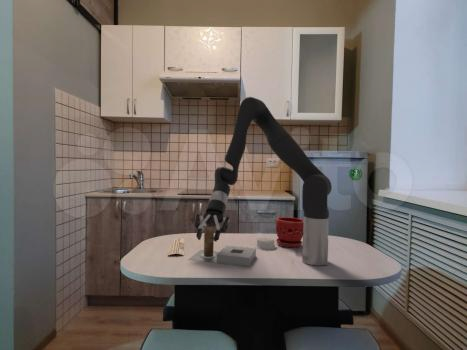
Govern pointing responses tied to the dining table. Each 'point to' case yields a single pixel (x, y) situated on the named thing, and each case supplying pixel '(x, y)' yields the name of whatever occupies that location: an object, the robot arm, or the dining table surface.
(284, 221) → the plant pot
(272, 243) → the mechanical component
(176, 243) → the newspaper
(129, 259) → the dining table surface
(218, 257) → the socket board
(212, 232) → the walnut plug
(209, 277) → the dining table surface
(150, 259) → the dining table surface
